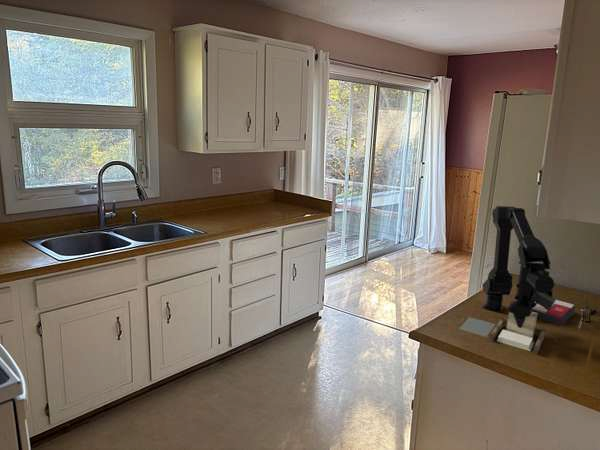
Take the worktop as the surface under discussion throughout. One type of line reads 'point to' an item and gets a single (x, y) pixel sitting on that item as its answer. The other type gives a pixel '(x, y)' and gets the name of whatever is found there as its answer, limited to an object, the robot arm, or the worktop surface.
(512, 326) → the cream rectangular block
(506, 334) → the offcut upper
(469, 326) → the mat
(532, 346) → the offcut lower
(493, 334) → the rack
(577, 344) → the worktop surface
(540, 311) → the red white carton
